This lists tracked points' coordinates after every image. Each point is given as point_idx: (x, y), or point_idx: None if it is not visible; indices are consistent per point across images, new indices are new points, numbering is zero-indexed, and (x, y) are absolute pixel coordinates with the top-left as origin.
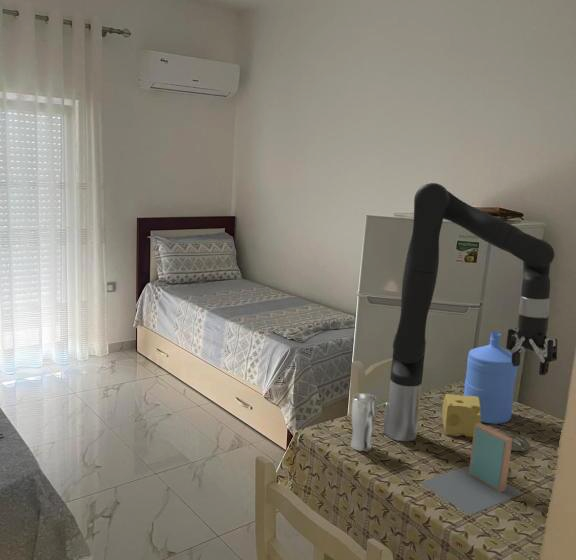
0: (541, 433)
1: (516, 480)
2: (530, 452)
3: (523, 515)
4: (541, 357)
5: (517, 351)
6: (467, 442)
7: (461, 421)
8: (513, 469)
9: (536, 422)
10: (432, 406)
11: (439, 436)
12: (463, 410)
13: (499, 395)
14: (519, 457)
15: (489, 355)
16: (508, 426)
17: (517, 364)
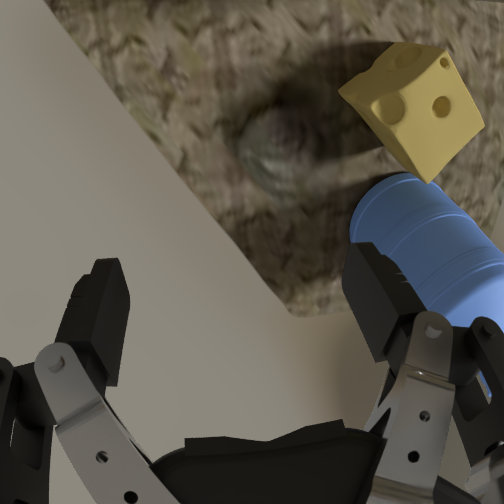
0: (275, 251)
1: (138, 11)
2: (223, 153)
3: None
4: (65, 384)
5: (400, 353)
6: (341, 52)
7: (393, 71)
8: (179, 41)
9: (312, 279)
10: (479, 152)
11: (396, 23)
12: (409, 75)
13: (391, 242)
14: (217, 105)
15: (485, 311)
16: (337, 216)
17: (349, 273)
